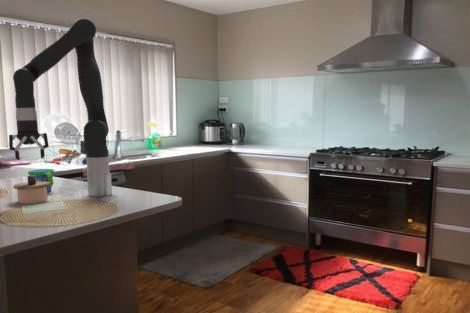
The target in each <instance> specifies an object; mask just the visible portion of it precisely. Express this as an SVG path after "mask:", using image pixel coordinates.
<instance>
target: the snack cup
mask: <svg viewBox="0 0 470 313" xmlns="http://www.w3.org/2000/svg"><path fill="white" fill-rule="evenodd" d="M54 173H55V170H54V169H53V168H40V169H39V168H38V169H31V170H29V171H28V172H27V174H28V176H31V175H35V176H36V182H50V186H48V187H47V193H49V192H51V191H52V188H53V185H54V179H53V177H54V176H53V175H54Z"/></svg>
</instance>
